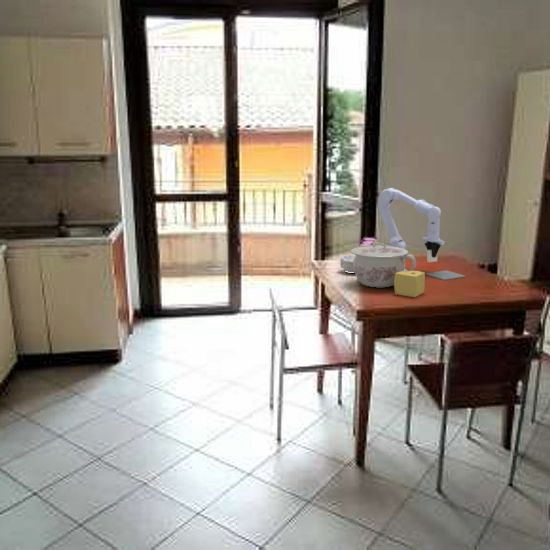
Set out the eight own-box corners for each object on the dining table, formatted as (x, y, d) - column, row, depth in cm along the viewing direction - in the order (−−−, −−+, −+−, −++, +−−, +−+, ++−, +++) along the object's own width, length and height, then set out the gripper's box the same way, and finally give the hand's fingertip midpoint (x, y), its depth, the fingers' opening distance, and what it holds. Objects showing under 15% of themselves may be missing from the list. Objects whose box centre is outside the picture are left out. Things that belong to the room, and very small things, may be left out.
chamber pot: (339, 281, 274) (340, 240, 269) (386, 275, 284) (388, 235, 279) (368, 295, 249) (369, 250, 244) (419, 288, 259) (421, 245, 254)
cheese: (403, 289, 258) (404, 268, 255) (425, 293, 251) (426, 271, 248) (393, 294, 250) (394, 273, 247) (415, 298, 243) (416, 276, 241)
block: (429, 262, 283) (429, 250, 281) (426, 261, 284) (427, 250, 283) (437, 261, 285) (437, 249, 283) (434, 260, 286) (434, 249, 285)
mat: (444, 280, 272) (444, 279, 272) (425, 274, 284) (425, 273, 284) (465, 277, 278) (465, 275, 278) (446, 271, 290) (446, 270, 290)
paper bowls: (369, 276, 284) (369, 261, 282) (339, 275, 286) (339, 260, 284) (369, 269, 298) (369, 255, 296) (341, 268, 301) (341, 254, 299)
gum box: (371, 269, 299) (371, 244, 295) (356, 268, 301) (357, 244, 298) (377, 260, 321) (378, 237, 317) (363, 259, 323) (364, 236, 320)
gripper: (449, 231, 276) (448, 258, 279) (430, 228, 289) (429, 253, 292) (438, 233, 273) (437, 259, 276) (419, 229, 286) (418, 254, 289)
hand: (432, 256), depth 284 cm, fingers closed on block, 2 cm apart
